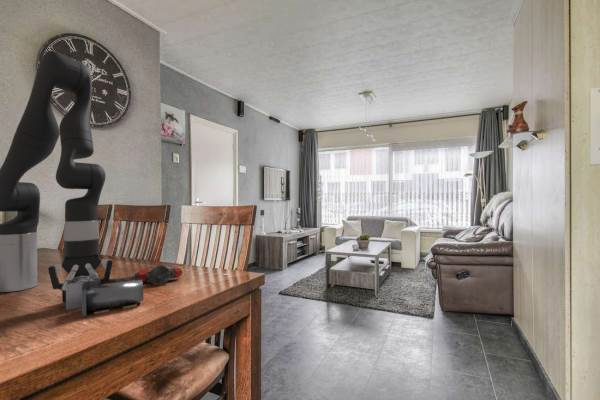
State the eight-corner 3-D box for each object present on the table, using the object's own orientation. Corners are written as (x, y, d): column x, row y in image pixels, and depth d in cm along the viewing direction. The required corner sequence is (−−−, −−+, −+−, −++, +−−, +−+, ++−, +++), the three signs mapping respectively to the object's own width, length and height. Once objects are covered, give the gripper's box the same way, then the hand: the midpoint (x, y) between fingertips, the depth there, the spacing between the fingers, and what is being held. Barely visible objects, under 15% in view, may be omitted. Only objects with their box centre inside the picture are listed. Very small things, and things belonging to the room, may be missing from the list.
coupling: (97, 304, 77) (97, 280, 77) (66, 310, 73) (65, 284, 73) (96, 296, 83) (96, 274, 83) (68, 301, 80) (68, 277, 80)
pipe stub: (81, 317, 68) (81, 290, 68) (82, 309, 74) (82, 283, 74) (143, 306, 76) (143, 281, 76) (140, 299, 81) (140, 276, 81)
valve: (184, 278, 111) (181, 282, 97) (104, 288, 103) (88, 295, 89) (183, 261, 112) (180, 263, 98) (104, 270, 103) (88, 273, 89)
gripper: (113, 234, 86) (113, 292, 86) (48, 238, 77) (48, 302, 77) (114, 237, 79) (115, 299, 79) (44, 241, 71) (44, 311, 71)
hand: (82, 300), depth 78 cm, fingers closed on coupling, 5 cm apart
